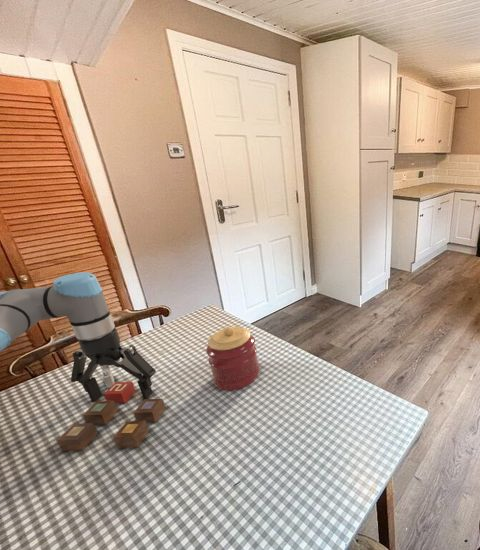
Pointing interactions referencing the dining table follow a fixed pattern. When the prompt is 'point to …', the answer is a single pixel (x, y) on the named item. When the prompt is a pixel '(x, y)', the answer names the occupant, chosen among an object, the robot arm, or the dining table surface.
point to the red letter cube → (120, 392)
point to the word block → (77, 437)
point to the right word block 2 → (149, 410)
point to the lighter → (107, 376)
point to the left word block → (100, 412)
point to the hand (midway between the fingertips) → (123, 398)
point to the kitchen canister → (233, 358)
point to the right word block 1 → (131, 434)
